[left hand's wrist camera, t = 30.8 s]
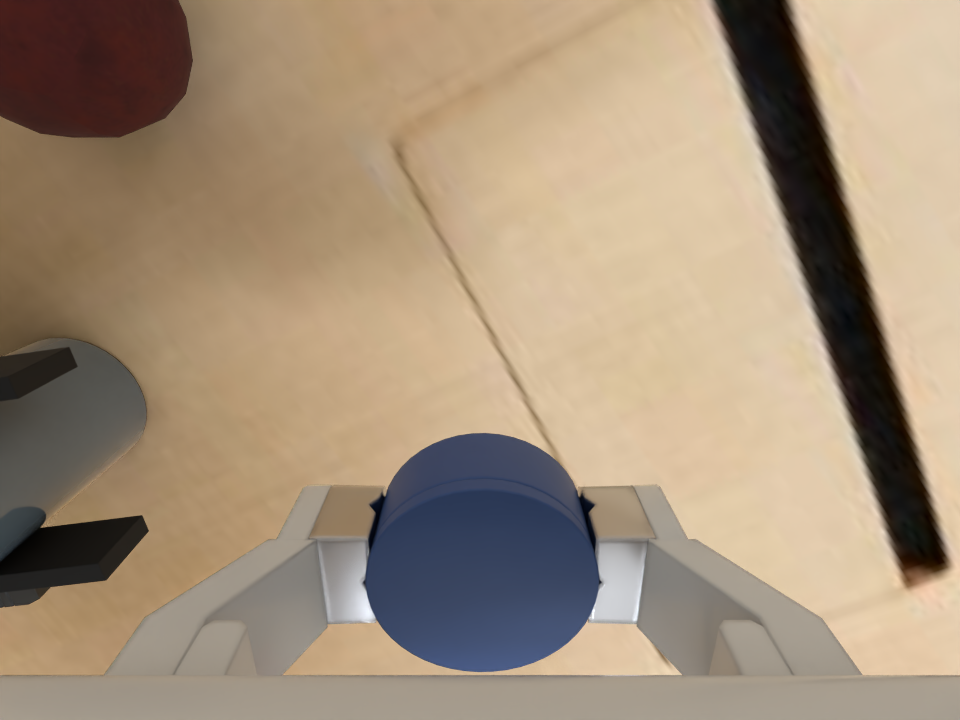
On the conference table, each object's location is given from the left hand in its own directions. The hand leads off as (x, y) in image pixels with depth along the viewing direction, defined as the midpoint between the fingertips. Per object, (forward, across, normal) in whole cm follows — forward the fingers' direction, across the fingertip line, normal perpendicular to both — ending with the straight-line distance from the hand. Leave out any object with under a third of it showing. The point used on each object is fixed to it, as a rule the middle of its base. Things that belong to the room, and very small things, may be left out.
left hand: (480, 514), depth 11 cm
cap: (-2, 0, 0) cm, 2 cm away
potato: (+15, +13, -10) cm, 22 cm away
